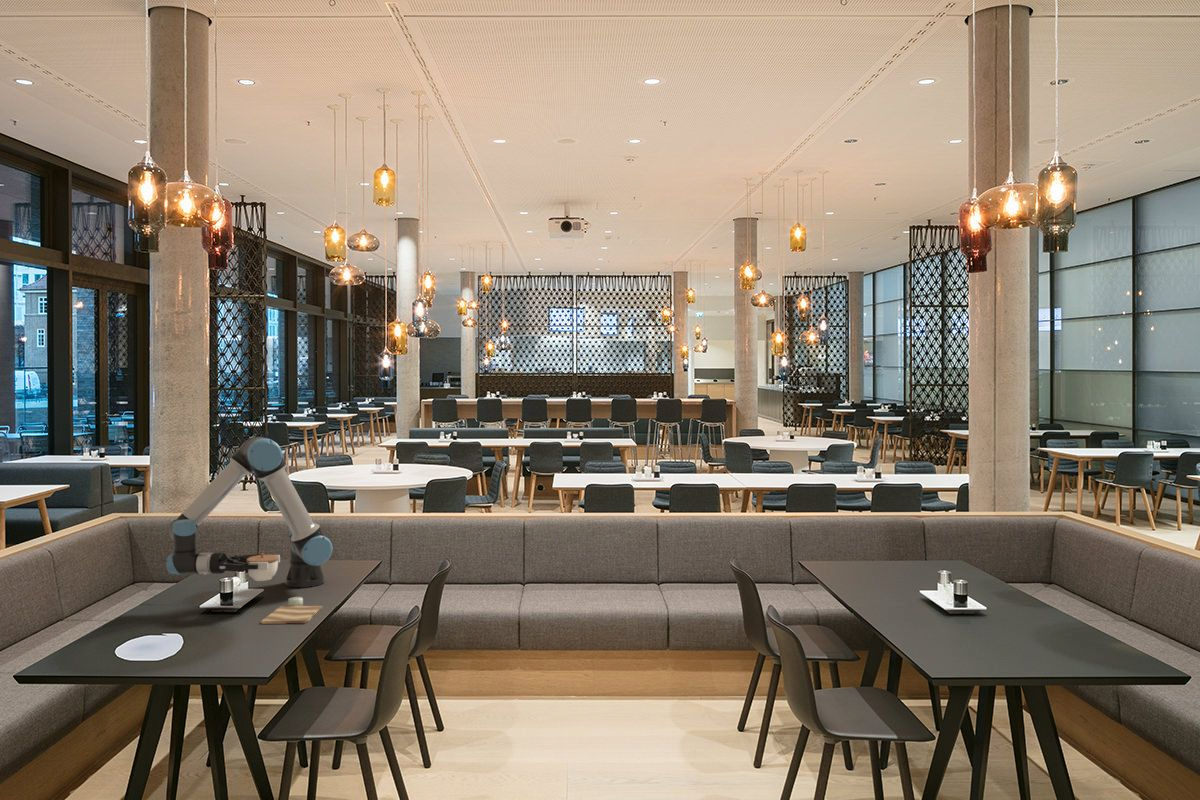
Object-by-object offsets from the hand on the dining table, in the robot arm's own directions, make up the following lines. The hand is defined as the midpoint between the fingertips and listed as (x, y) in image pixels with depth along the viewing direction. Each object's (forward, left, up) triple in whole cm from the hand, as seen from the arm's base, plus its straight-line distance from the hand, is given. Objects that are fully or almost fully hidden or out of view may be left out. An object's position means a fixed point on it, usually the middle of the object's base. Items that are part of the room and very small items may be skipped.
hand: (273, 562), depth 314 cm
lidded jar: (0, -4, -6) cm, 8 cm away
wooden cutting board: (+10, +10, -17) cm, 22 cm away
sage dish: (-2, +7, -17) cm, 18 cm away
